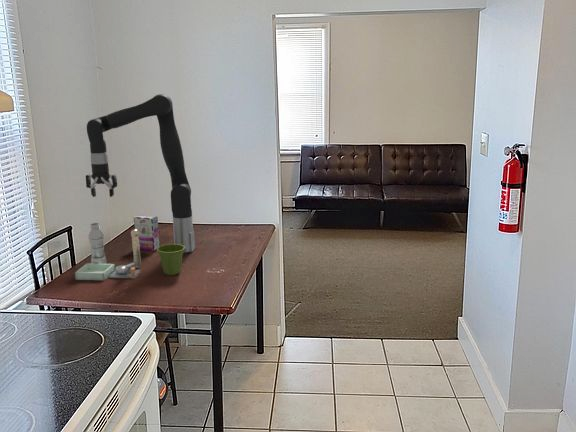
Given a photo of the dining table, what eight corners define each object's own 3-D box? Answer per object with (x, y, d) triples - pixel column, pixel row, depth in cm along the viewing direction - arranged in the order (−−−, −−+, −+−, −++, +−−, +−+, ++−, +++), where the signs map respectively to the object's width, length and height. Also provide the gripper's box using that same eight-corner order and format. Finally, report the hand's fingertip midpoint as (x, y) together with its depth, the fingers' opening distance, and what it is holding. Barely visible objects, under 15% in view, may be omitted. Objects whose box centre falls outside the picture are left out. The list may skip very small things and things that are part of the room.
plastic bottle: (110, 265, 246) (106, 223, 241) (99, 270, 241) (94, 226, 236) (99, 263, 249) (95, 221, 244) (88, 268, 243) (83, 225, 238)
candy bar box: (160, 248, 271) (158, 216, 267) (154, 251, 267) (152, 218, 262) (141, 245, 275) (139, 214, 271) (135, 248, 271) (132, 216, 267)
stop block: (135, 274, 235) (134, 266, 234) (135, 276, 233) (134, 269, 232) (131, 274, 235) (130, 267, 234) (131, 277, 232) (130, 269, 231)
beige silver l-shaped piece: (121, 274, 231) (117, 236, 227) (113, 272, 234) (109, 235, 230) (144, 265, 242) (141, 229, 238) (136, 263, 245) (133, 227, 241)
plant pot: (162, 279, 229) (160, 253, 227) (155, 270, 240) (153, 246, 237) (189, 274, 235) (188, 249, 232) (181, 266, 245) (180, 242, 242)
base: (141, 271, 238) (140, 269, 238) (134, 278, 231) (134, 276, 230) (116, 271, 239) (116, 269, 239) (109, 277, 231) (109, 275, 231)
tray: (115, 270, 240) (114, 263, 239) (104, 280, 229) (103, 273, 228) (87, 270, 241) (86, 263, 240) (75, 279, 230) (74, 272, 229)
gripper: (117, 161, 256) (120, 194, 260) (88, 160, 257) (91, 194, 261) (111, 163, 249) (114, 198, 253) (81, 163, 250) (84, 198, 254)
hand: (102, 196), depth 257 cm, fingers open, 8 cm apart
